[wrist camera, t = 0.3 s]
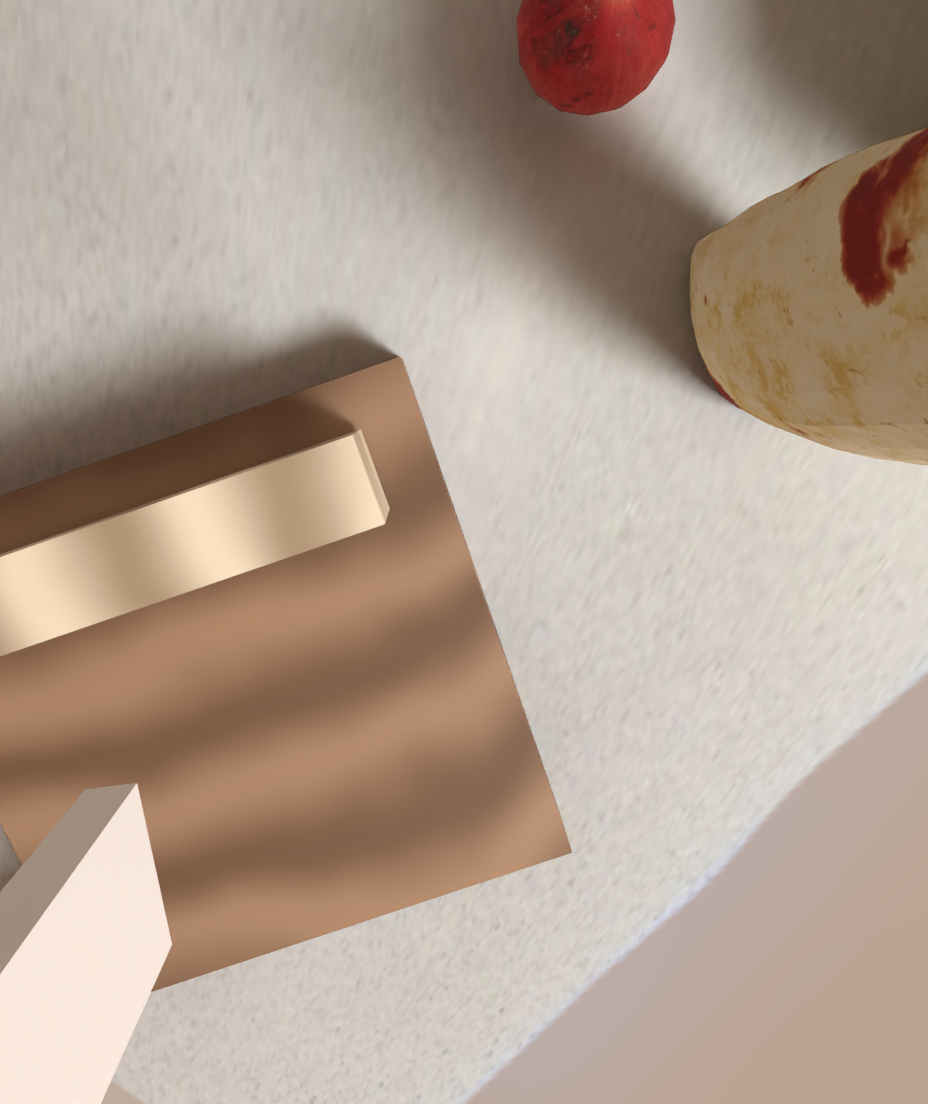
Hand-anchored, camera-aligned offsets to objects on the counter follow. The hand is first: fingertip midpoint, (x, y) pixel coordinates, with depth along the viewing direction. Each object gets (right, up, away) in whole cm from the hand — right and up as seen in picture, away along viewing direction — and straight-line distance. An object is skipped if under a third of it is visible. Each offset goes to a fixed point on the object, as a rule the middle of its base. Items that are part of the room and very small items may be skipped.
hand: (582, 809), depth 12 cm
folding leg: (-14, +4, +22) cm, 27 cm away
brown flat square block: (-12, -2, +27) cm, 30 cm away
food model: (+11, +14, +25) cm, 31 cm away
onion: (+3, +24, +22) cm, 33 cm away
